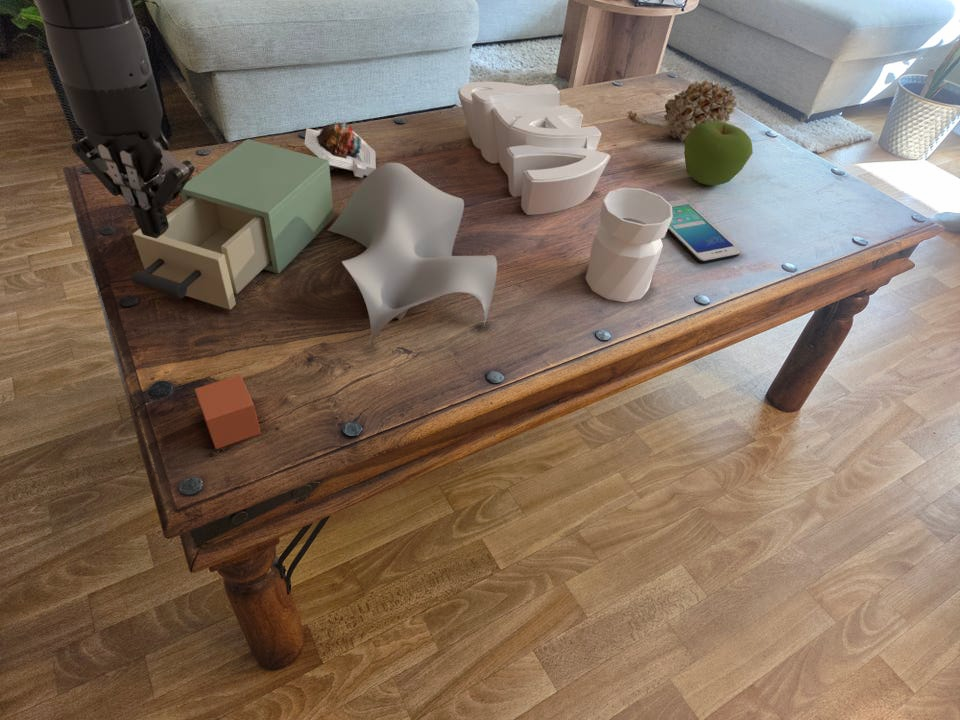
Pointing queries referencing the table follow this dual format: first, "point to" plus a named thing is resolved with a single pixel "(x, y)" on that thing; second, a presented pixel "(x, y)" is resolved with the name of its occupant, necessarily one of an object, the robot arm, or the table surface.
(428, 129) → the table surface
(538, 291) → the table surface
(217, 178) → the cabinet
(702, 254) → the smartphone
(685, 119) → the dried hydrangea flower
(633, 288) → the vase
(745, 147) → the apple
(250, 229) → the drawer
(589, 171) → the wavy white extrusion
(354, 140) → the mineral specimen
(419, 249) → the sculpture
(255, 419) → the block
